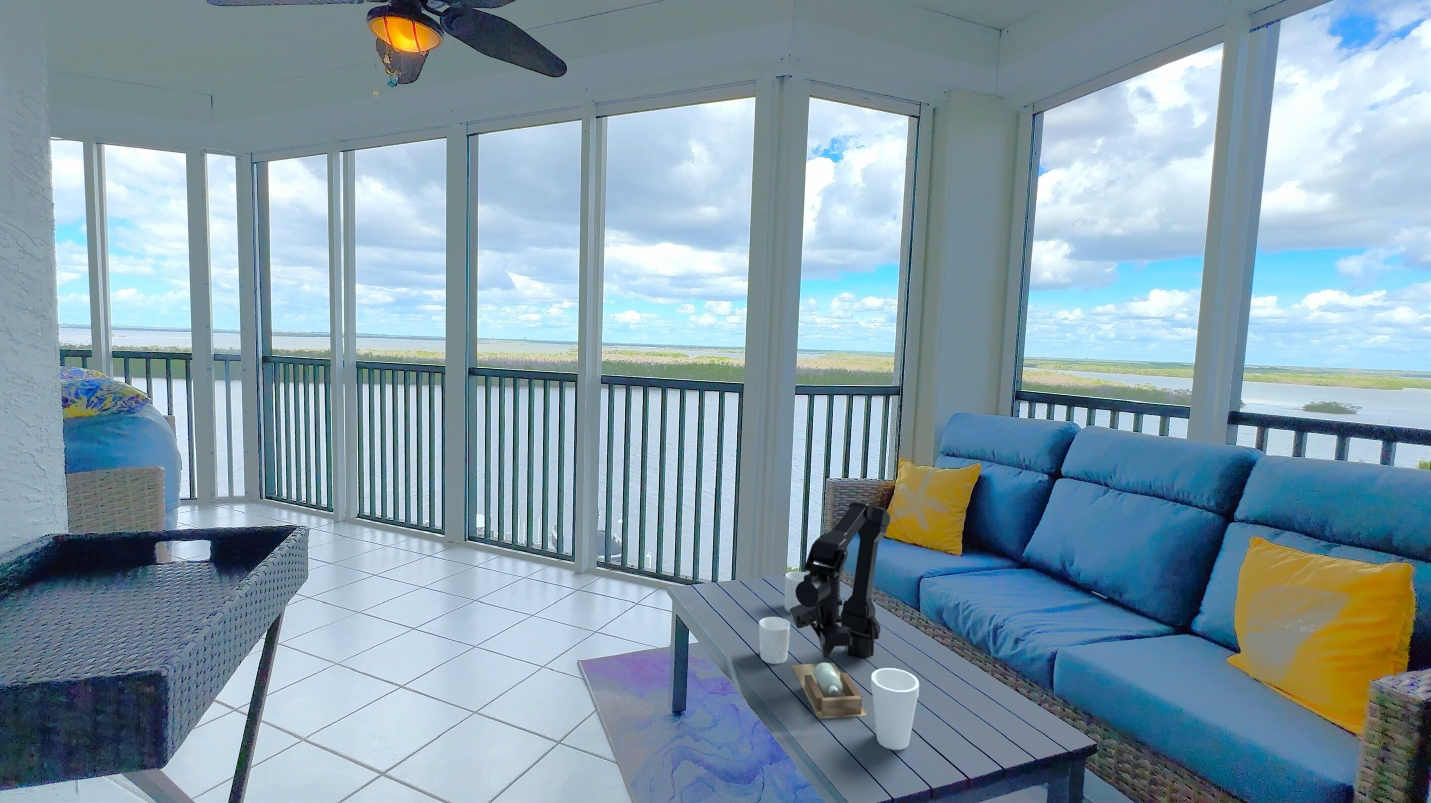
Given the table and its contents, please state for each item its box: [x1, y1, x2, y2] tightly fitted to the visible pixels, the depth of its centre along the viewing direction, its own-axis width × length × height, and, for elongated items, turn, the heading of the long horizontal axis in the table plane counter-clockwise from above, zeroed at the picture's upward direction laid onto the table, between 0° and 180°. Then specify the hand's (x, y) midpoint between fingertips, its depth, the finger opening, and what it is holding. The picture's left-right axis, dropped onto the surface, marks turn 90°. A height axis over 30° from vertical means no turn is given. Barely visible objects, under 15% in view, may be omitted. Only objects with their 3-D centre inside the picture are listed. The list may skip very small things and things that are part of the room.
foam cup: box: [870, 667, 920, 751], centre depth 129 cm, size 10×9×13 cm
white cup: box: [758, 616, 791, 665], centre depth 161 cm, size 8×8×10 cm
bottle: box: [813, 662, 843, 698], centre depth 144 cm, size 5×5×10 cm
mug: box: [784, 571, 808, 613], centre depth 192 cm, size 12×8×10 cm, turn 21°
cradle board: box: [791, 662, 868, 720], centre depth 147 cm, size 11×23×4 cm, turn 8°
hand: (825, 657), depth 148 cm, fingers closed
